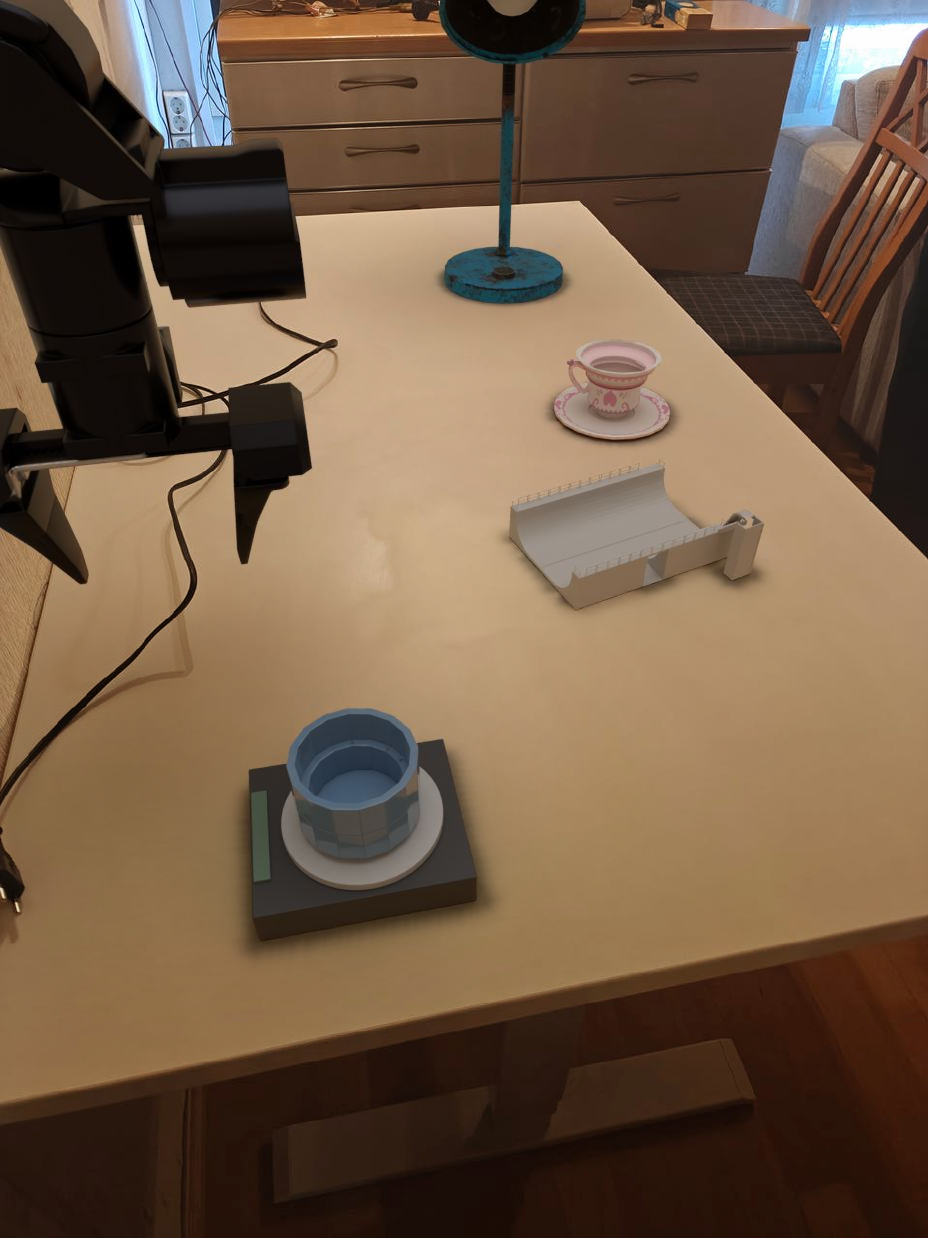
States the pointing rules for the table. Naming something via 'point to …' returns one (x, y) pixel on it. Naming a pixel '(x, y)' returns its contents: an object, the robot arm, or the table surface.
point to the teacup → (613, 392)
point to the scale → (355, 859)
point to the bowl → (355, 782)
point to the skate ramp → (623, 537)
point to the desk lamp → (508, 134)
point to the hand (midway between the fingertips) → (165, 569)
